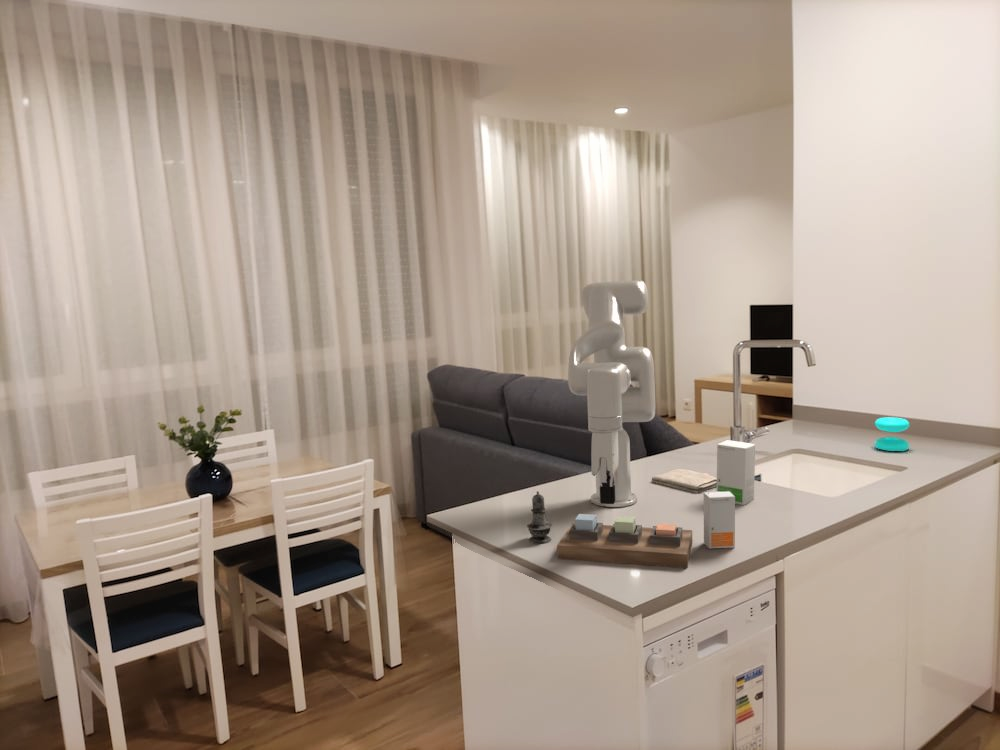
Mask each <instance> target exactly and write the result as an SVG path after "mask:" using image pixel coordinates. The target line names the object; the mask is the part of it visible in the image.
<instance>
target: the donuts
mask: <svg viewBox="0 0 1000 750" xmlns="http://www.w3.org/2000/svg"><path fill="white" fill-rule="evenodd" d="M874 425H875V427H876V429H878V430H880V431H883V432H889V433H899V432H903V431H904V432H905V431H906V430H908V429H909V427H910V422H909V421H908V420H907V419H905V418H900V417H892V416H891V417H888V416H887V417H880V418H877V419H876V420H875V422H874ZM874 447H875V448H876V449H877V448H878V449H877V450H879V449H882V450H888V451H902V452H905V451H908V449H909V447H910V444H909V442H908V441H907V440H906V439H903V438H901V437H896V436H895V437H894V436H885V437H884V436H883V437H879V438H878V439H876V441H875V442H874ZM882 450H881V451H882ZM888 451H887V452H888Z"/></svg>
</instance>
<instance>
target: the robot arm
mask: <svg viewBox="0 0 1000 750" xmlns="http://www.w3.org/2000/svg"><path fill="white" fill-rule="evenodd" d="M581 301H582V306H583V309H584V312H585V314H586V317H587V320H588V323H587V324H588V326H587V327H588V328H587V329H586V331H585V332H584V333H583V334H582V335H580V337H579V338H578V339H577V340H576V341H575V343H574V344H573V345H572V347H571V349H570V351H569V354H568V355H569V356H568V368H567V384H568V388H569V391H570V392H571V393H572V394H574V395H576V396H586V397H587V399H586V400H587V420H588V421H587V423H588V424H587V425H588V426H587V427H588V428H587V429H588V431H589V432H591V433H592V434H591V447H590V448H591V451H590V452H591V454H590V455H591V461H590V462H591V468H590V469H591V472H590V473H591V474H590V475H592V476H593V477H595V493H593V494H592V495H591V496H590V502H591V503H593V504H594V505H596V506H600V507H604V506H605V507H606V508H623V507H628V506H631V505H634V504H636V502H637V501H638V497H637V495H636V493H633V492H632V484H631V483H632V480H631V479H632V475H631V473H632V472H631V449H630V448H631V447H630V446H631V445H630V442H631V441H630V436H629V435H628V432H627V431H626V430H625V429H624V428H623V423H645V422H647V423H648V422H651V421H652V420H653V419H654V418H655V416H656V407H657V406H656V387H655V384H656V381H655V363H654V362H655V361H654V357H653V354H652V351H651V350H650V349H649V348H648V347H646V346H627V345H626V338H625V337H626V336H625V334H626V333H625V332H626V331H625V328H624V316H628V315H629V316H630V315H631V316H632V315H643V314H645V313H646V311H647V309H648V305H649V291H648V288H647V285H646V283H645V282H644V281H643V280H641V279H640V280H637V279H636V280H635V279H634V280H620V281H619V280H618V281H599V282H598V281H597V282H593V283H589V284H586V285H585V286H584V287H583V288H582V291H581ZM592 355H593V362H583V361H584V360H585V359H587V358H588V357H590V356H592ZM631 383H635V384H637V386H631ZM605 507H604V508H605Z"/></svg>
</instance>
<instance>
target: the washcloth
mask: <svg viewBox="0 0 1000 750" xmlns="http://www.w3.org/2000/svg"><path fill="white" fill-rule="evenodd" d="M653 482H656V483H655V484H657V483H660V484H659V485H661V484H664V485H663V486H665V485H667V486H666V487H670V486H671V487H670V488H674V487H675V489H678V488H679V489H678V490H683V489H684V491H686V490H688V491H687V492H690V491H692V492H691V493H694V492H695V494H700V493H705V492H708V491H711V490H713V488H714V489H717V476H716V477H715V476H713V475H710V474H709V473H707V472H699V471H696V470H691V469H690V470H689V469H683V468H676V469H672V470H670V471H668V472H665V473H660V474H656V475H654V476H653V477H651V483H653ZM710 489H711V490H710ZM707 490H708V491H707ZM704 491H705V492H704Z"/></svg>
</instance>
